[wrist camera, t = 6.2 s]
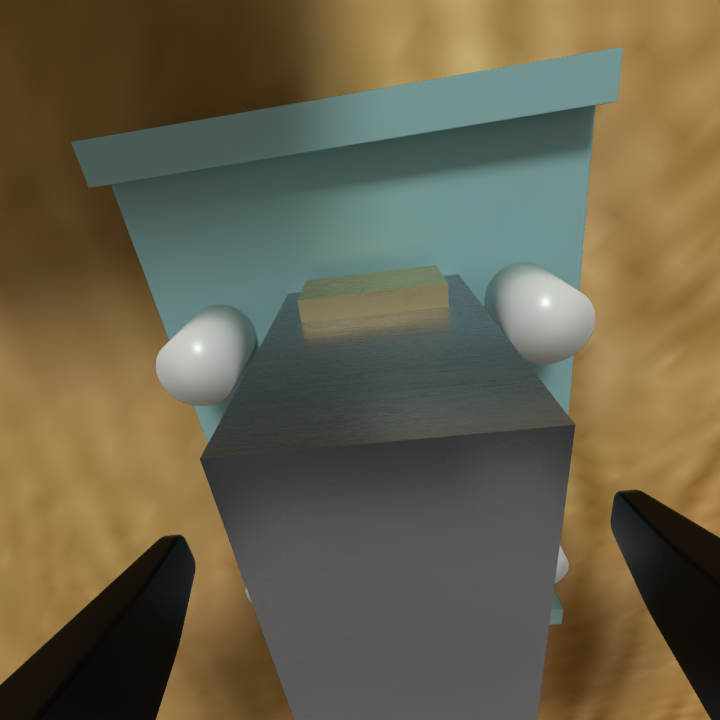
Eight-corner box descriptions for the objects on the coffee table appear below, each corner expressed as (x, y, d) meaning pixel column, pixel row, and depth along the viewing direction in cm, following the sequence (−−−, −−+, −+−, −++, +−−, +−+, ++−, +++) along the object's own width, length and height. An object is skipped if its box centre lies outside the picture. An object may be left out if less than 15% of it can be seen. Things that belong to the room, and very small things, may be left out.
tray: (575, 66, 9) (669, 27, 6) (541, 575, 16) (577, 662, 13) (120, 143, 9) (24, 140, 7) (280, 598, 16) (264, 685, 14)
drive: (458, 254, 10) (581, 387, 4) (463, 545, 14) (528, 801, 8) (284, 275, 10) (185, 425, 4) (340, 554, 14) (325, 807, 9)
